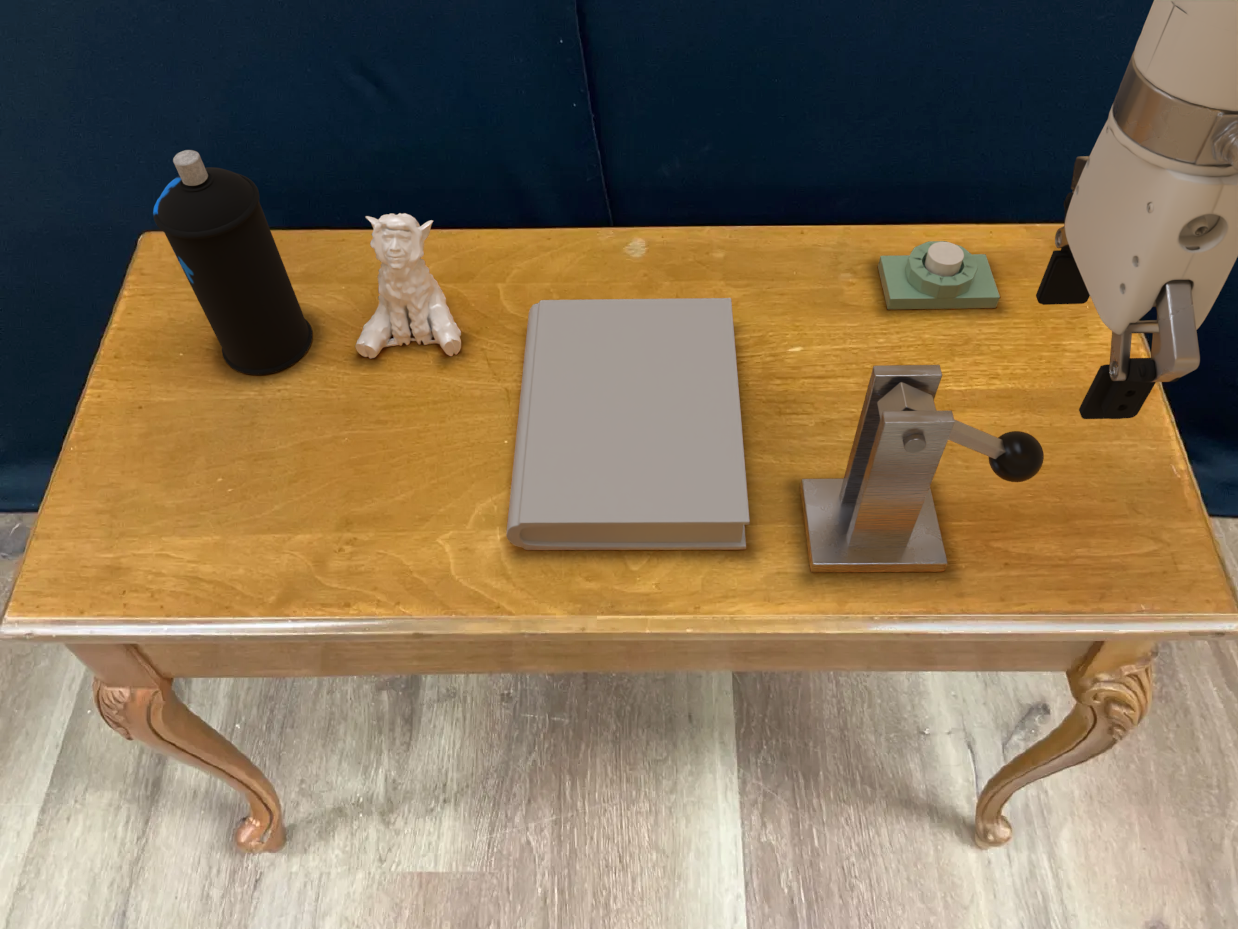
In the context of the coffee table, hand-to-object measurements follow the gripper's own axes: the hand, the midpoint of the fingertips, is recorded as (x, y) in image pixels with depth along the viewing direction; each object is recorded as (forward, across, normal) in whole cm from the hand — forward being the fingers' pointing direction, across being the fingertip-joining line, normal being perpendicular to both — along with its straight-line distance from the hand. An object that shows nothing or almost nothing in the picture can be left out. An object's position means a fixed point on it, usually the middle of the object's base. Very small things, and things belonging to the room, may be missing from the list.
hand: (1082, 355), depth 60 cm
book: (+19, +10, +29) cm, 36 cm away
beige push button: (+16, +27, 0) cm, 32 cm away
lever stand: (+19, 0, +10) cm, 22 cm away
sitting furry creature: (+18, +23, +49) cm, 57 cm away
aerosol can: (+18, +21, +62) cm, 68 cm away
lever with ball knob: (+9, 0, +6) cm, 11 cm away
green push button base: (+19, +28, 0) cm, 33 cm away
